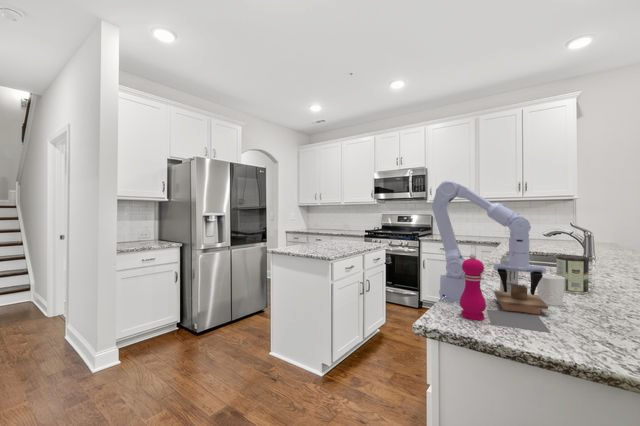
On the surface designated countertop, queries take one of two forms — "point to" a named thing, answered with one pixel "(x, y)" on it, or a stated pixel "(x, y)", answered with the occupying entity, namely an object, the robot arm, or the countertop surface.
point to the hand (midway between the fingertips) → (518, 292)
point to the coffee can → (574, 273)
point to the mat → (517, 320)
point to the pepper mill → (472, 290)
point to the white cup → (551, 289)
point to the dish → (521, 308)
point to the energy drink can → (508, 275)
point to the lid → (520, 297)
